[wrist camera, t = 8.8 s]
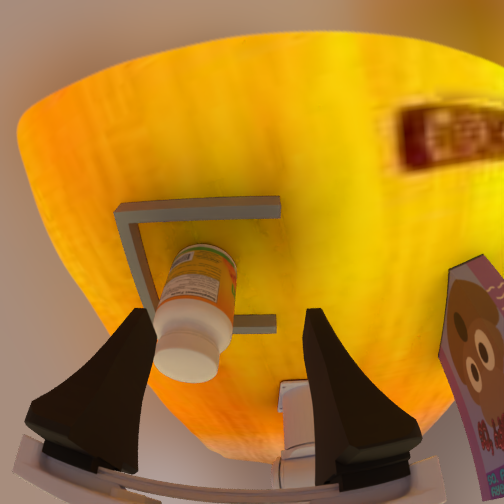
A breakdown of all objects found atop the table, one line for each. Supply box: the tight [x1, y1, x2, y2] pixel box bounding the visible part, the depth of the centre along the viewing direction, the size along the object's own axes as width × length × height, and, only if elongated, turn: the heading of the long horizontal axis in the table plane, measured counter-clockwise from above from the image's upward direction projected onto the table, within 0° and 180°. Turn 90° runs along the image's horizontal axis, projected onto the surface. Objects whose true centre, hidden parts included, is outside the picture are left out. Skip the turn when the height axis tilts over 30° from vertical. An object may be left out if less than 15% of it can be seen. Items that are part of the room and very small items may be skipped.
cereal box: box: [438, 254, 504, 501], centre depth 18 cm, size 17×5×24 cm, turn 23°
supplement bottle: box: [153, 244, 237, 383], centre depth 20 cm, size 5×5×10 cm
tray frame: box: [113, 196, 281, 334], centre depth 24 cm, size 13×12×2 cm
